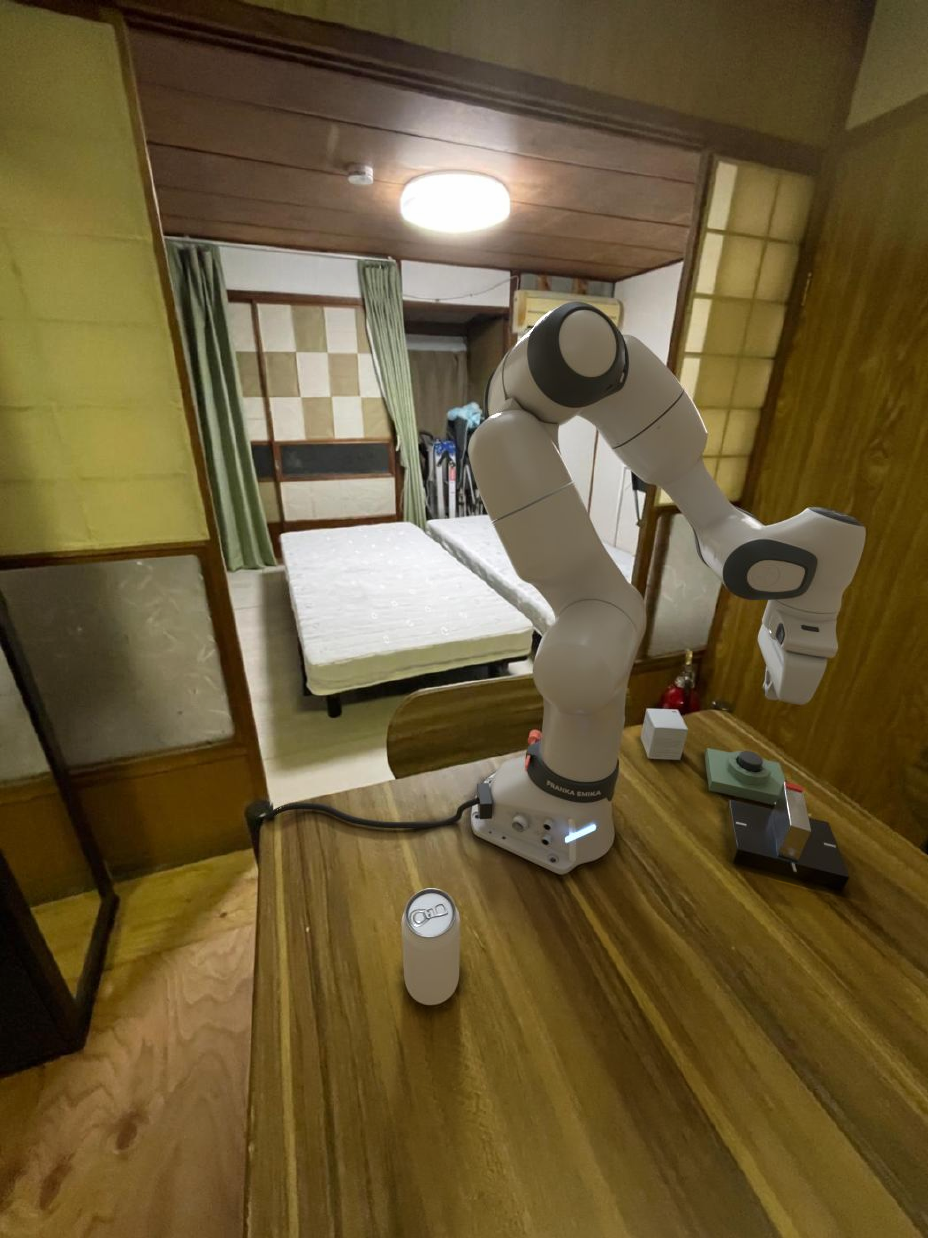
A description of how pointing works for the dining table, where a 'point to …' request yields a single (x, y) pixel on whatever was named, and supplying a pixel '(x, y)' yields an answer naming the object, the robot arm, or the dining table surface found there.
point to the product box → (663, 734)
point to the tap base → (759, 849)
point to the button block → (743, 777)
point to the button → (750, 761)
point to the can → (431, 946)
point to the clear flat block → (791, 821)
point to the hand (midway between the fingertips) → (769, 694)
